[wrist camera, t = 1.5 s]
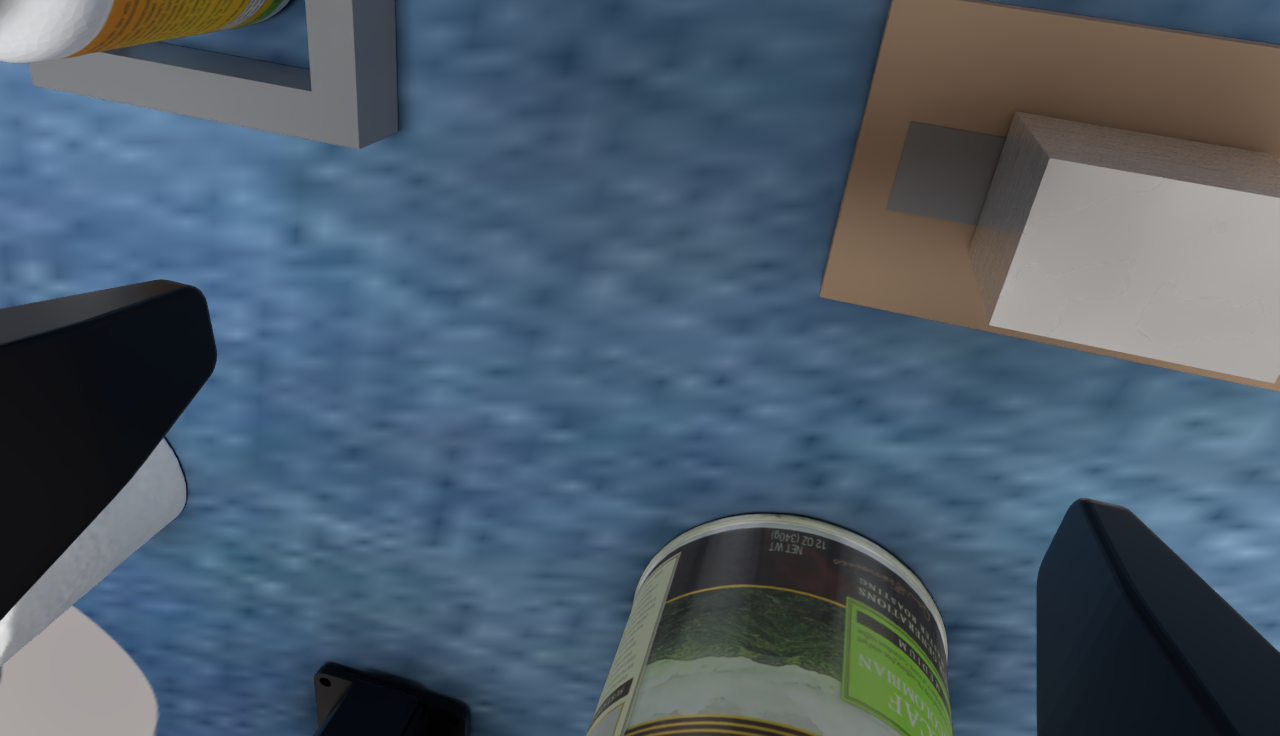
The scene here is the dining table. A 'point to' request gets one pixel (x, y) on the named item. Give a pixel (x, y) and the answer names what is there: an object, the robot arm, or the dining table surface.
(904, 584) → the coffee can
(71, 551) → the roll
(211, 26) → the supplement bottle
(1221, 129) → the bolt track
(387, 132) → the open rectangular frame
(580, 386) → the dining table surface
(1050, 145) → the bolt
